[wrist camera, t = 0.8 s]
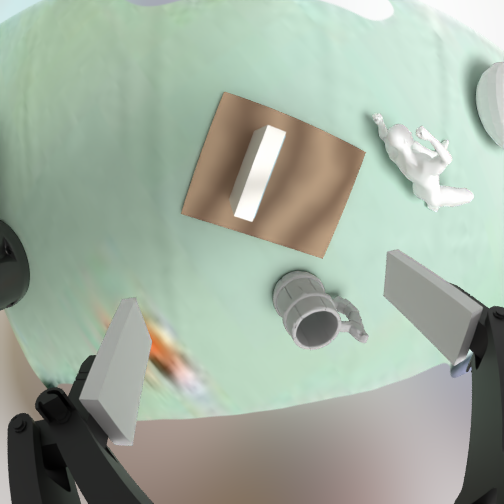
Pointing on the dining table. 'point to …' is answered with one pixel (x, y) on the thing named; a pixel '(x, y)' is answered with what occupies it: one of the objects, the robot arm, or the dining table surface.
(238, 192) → the tile
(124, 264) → the dining table surface
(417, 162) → the person figurine
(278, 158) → the board
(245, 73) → the dining table surface
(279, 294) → the mug
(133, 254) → the dining table surface
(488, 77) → the vase
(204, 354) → the dining table surface
